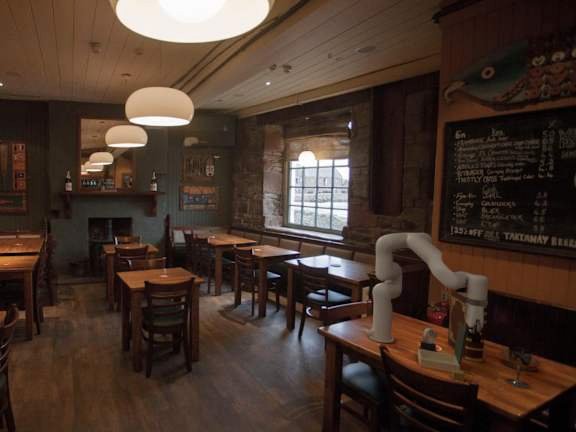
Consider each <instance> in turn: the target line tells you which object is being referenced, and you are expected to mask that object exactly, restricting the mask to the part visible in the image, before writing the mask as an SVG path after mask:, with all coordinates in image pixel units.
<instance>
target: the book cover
mask: <svg viewBox="0 0 576 432" xmlns="http://www.w3.org/2000/svg"><path fill="white" fill-rule="evenodd" d="M466 331H469V332H466ZM466 333H467V334H471V335H472V333H473V330H472V329H465V328H464V326H463V325H462V323H461V322H459V326H458V333H457V339H456V345H455V349H454V353H453V355H455V357H456V359H457V361H458V363H459V365H460V366H462V363H463V350H464V344H465V338H466Z"/></svg>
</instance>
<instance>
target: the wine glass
mask: <svg viewBox="0 0 576 432" xmlns="http://www.w3.org/2000/svg"><path fill="white" fill-rule="evenodd" d="M507 351H508V355H509V360H510V362H511V363H512V365H513V366H514V367H515V368H516V369H515V370H516V379H508V380H507V381H506V382H507V383H508V384H509V385H511V386H513V387H516V388H520V389H529V388H530V387H529V384H527V383H526V382H523V381H521V380H520V376H521V374H522V373H521V372H523V369H525V368H526V367H528V366H529V365H530V363H531V361H532V357H533V351H532V350H530V349H527V348H523V347H520V346H509V347H508V350H507Z"/></svg>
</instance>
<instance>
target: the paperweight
mask: <svg viewBox="0 0 576 432" xmlns="http://www.w3.org/2000/svg"><path fill="white" fill-rule="evenodd" d="M451 379H452V381H453V380H458V381H464V382H465V372H464V370H463V369H460V370H458V369H452V372H451Z"/></svg>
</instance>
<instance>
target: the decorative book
mask: <svg viewBox="0 0 576 432" xmlns="http://www.w3.org/2000/svg"><path fill="white" fill-rule="evenodd" d="M466 300H467V289H465V292H458V291H456V290H455V289H450V301H449V315H448V316H449V317H448V318H449V319H448V330H447V331H448V332H447V343H448V345H450V347H452V349H454V350H455V345H456V339H457V333H458V326H459V322H461V323H462V325H463V326H464V328H465V329H468V328H469V326H468V324H467V323H466V315H467V307H468V305H467V304H466ZM487 305H489V301H488V300H487ZM487 308H488V307H485V308H484V318H483V328H482V329H481V343H480V344H479V343H473V342H472V337H471V336H468V334H467V333H466V338H465V344H464V350H463V356H462V358H464V359H465V360H467V361H470V362H471V361H472V362H477V363H480V362H484V360H485V359H484V351H485V342H486V339H485V332H486V324H487V320H486V319H487V315H488V312H487ZM476 327H477V326H476ZM466 332H468V331H466Z"/></svg>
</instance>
